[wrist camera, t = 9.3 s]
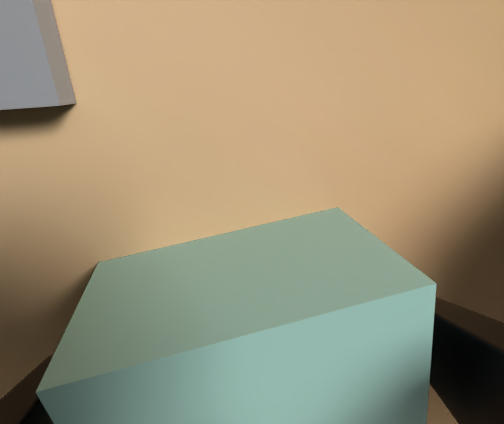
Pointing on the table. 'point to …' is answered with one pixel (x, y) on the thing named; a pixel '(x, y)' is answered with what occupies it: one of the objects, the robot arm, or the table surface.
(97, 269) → the pale teal rectangular block
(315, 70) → the table surface
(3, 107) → the jig
